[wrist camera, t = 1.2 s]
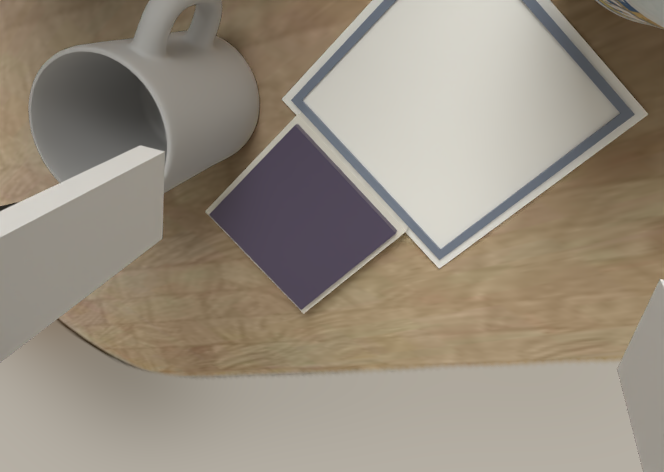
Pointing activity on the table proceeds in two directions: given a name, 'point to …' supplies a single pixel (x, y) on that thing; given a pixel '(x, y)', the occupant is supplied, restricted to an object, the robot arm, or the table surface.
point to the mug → (146, 97)
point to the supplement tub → (638, 10)
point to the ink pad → (305, 215)
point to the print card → (462, 109)
